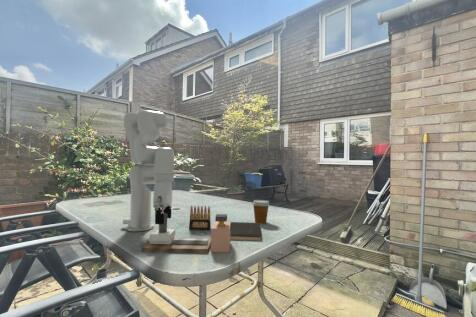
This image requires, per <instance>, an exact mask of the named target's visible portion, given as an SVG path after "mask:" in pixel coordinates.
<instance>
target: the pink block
mask: <svg viewBox="0 0 476 317" xmlns="http://www.w3.org/2000/svg"><path fill="white" fill-rule="evenodd" d="M231 222H232V221H227V222H225V221H224V226H219V221H213V223H212V224H211V225H212V226H211V230H210V239H211V245H210V253H230V249H231V248H230V246H231V239H230V225H231Z"/></svg>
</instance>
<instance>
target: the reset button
mask: <svg viewBox="0 0 476 317" xmlns="http://www.w3.org/2000/svg"><path fill="white" fill-rule="evenodd" d="M214 222H219V226H224V222H228V214H227V213H226V214H225V213H224V214H222V213H216V214H215V220H214Z"/></svg>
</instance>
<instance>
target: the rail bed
mask: <svg viewBox="0 0 476 317" xmlns="http://www.w3.org/2000/svg"><path fill="white" fill-rule="evenodd" d="M150 243H151V241H150V238H149V241H148V242H146V243H145V244H144V245H143V246H142V247H141V253H185V254H186V253H190V254H192V253H193V254H194V253H195V254H208V253H209V251H210V249H211V237H209V238H205V237H204V238H202V237H174V238H173V239H172V243H171V244H150Z"/></svg>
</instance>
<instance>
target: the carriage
mask: <svg viewBox="0 0 476 317" xmlns="http://www.w3.org/2000/svg"><path fill="white" fill-rule="evenodd" d="M175 237H176V228H175V229H174V228H168V218H167V214H166V213H164V224H158V228H156V229H154V230H153V231H152V232H151V233H149V239H150V241H151V243H150V244H171V243H172V239H173V238H175Z"/></svg>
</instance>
